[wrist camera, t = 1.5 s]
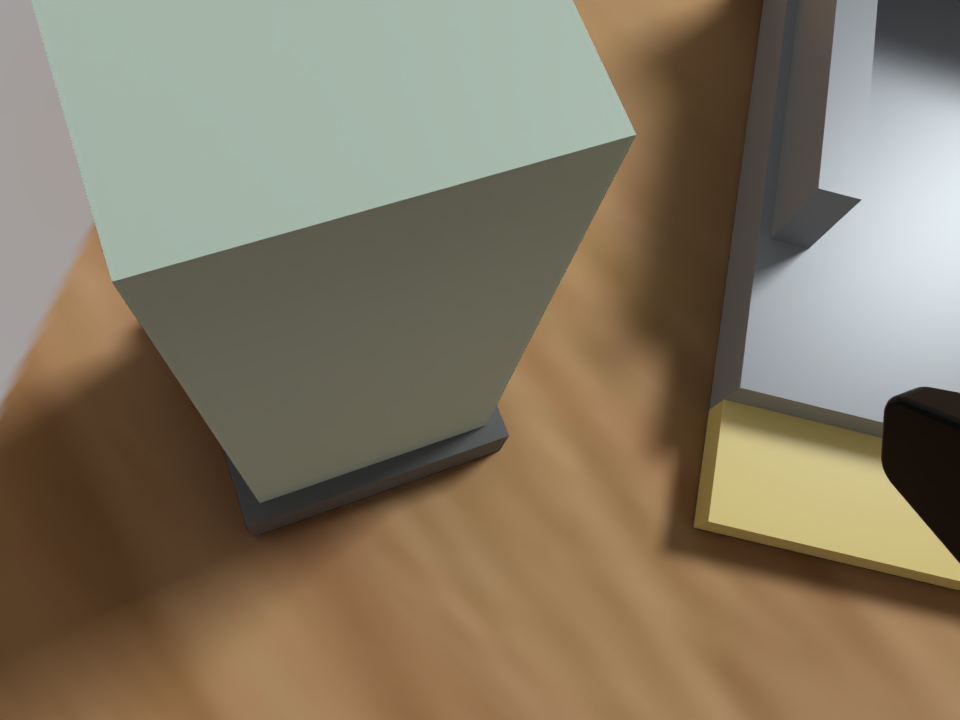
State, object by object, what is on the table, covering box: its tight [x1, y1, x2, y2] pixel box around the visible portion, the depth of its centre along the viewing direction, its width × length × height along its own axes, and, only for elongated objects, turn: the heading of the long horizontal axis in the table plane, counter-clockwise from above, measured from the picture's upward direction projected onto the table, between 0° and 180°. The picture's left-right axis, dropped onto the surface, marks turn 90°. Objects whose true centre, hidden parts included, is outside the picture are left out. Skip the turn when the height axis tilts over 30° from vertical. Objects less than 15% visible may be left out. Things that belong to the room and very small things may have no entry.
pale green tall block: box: [31, 0, 636, 537], centre depth 16 cm, size 6×6×14 cm
